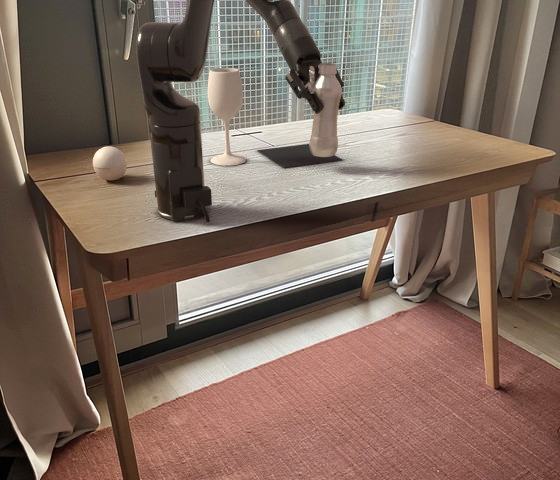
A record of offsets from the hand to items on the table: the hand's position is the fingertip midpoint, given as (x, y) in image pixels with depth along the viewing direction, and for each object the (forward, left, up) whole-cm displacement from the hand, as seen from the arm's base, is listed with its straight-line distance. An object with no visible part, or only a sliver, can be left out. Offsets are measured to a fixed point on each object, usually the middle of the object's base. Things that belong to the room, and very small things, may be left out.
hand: (331, 109), depth 126 cm
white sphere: (+15, +48, -14) cm, 52 cm away
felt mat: (+15, 0, -14) cm, 20 cm away
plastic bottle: (+2, +1, -11) cm, 11 cm away
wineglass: (+18, +18, -14) cm, 29 cm away
